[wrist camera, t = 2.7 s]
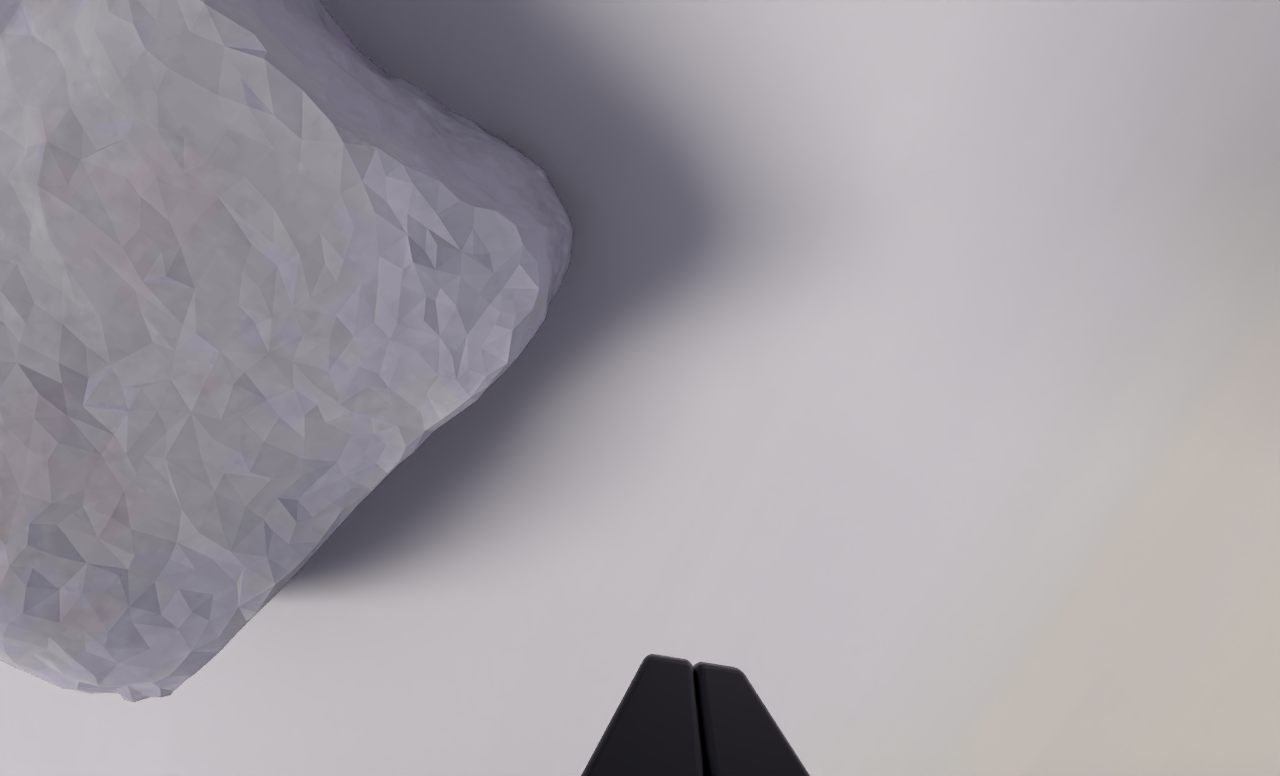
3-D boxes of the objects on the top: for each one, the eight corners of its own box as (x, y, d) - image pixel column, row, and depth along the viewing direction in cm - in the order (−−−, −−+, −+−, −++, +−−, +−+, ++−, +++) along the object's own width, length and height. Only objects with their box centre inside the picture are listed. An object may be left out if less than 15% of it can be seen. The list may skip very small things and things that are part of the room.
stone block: (-135, 300, 18) (242, 641, 19) (-446, 362, 13) (72, 807, 14) (193, -211, 14) (637, 243, 15) (-83, -363, 10) (576, 297, 11)
